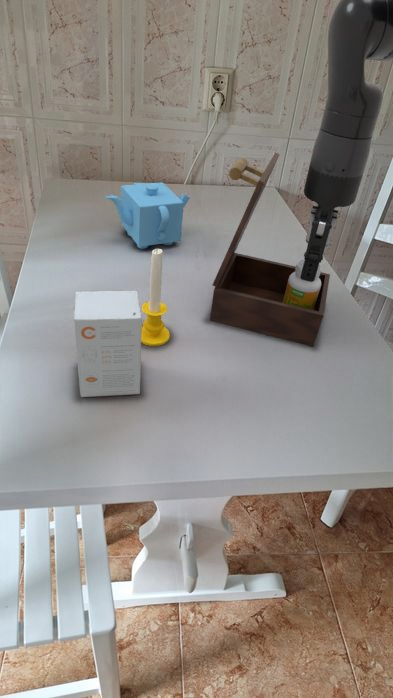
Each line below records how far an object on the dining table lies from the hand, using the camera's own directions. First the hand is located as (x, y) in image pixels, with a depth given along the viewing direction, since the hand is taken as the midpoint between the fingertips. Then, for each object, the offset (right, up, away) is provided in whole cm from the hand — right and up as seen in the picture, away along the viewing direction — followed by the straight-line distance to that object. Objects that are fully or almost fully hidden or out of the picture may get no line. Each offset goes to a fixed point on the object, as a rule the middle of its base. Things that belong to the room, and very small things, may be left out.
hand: (309, 267), depth 78 cm
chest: (-6, -7, +7) cm, 11 cm away
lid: (-10, +7, -2) cm, 12 cm away
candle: (-25, -11, -1) cm, 28 cm away
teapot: (-29, +10, +25) cm, 39 cm away
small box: (-30, -18, -10) cm, 37 cm away
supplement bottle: (-1, -7, +6) cm, 10 cm away
